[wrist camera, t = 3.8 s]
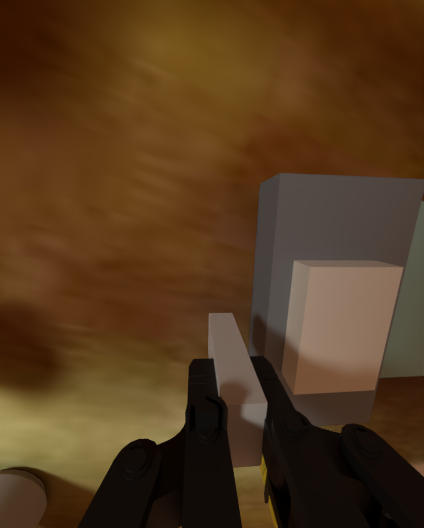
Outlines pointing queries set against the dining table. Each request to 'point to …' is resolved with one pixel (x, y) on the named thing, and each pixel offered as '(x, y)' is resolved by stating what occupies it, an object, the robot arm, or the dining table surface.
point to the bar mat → (409, 315)
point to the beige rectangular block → (338, 324)
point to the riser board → (325, 248)
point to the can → (21, 499)
